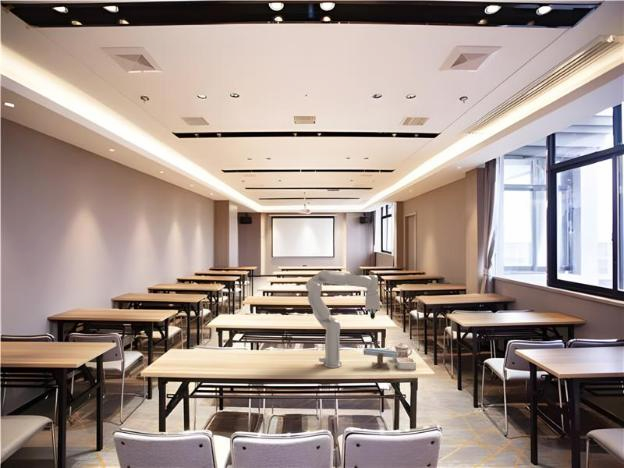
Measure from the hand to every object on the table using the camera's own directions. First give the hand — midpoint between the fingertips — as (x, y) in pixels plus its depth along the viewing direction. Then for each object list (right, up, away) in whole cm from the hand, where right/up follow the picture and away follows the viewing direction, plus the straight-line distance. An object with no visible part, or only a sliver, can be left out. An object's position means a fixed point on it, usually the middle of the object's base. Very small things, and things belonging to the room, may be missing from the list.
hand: (372, 318), depth 256 cm
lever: (+3, -22, -9) cm, 24 cm away
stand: (+3, -29, -12) cm, 32 cm away
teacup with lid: (+22, -29, +2) cm, 37 cm away
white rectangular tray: (+20, -29, -14) cm, 38 cm away
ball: (+22, -27, -14) cm, 37 cm away
